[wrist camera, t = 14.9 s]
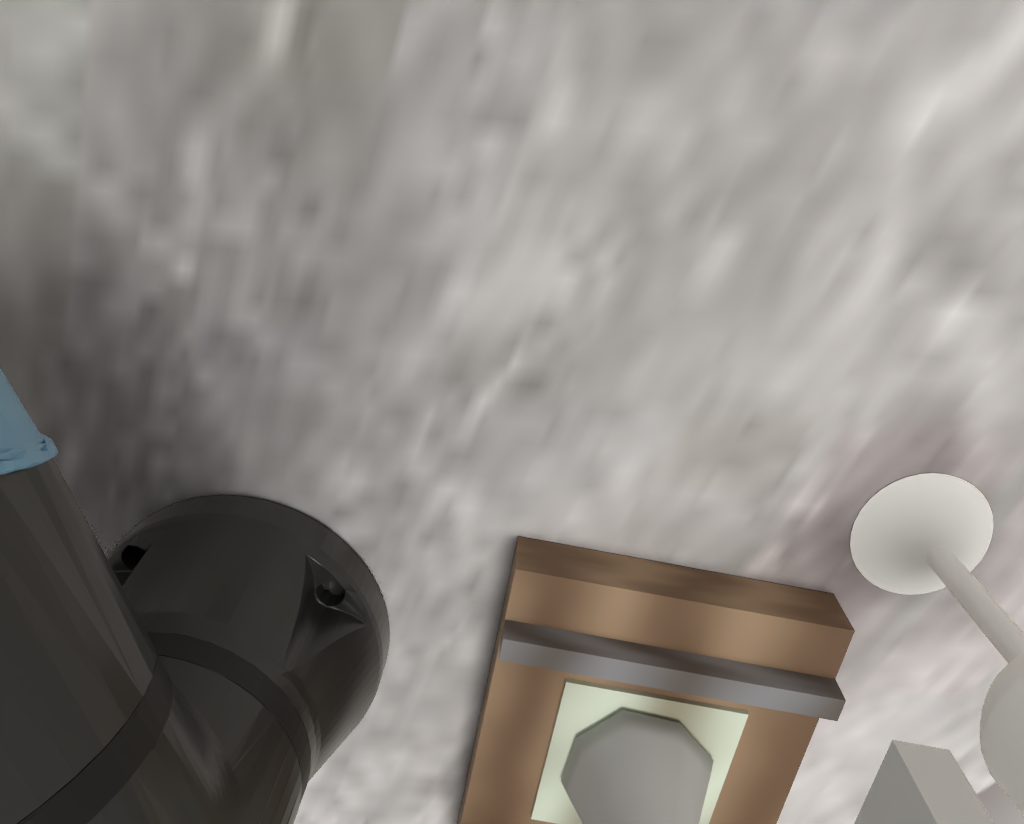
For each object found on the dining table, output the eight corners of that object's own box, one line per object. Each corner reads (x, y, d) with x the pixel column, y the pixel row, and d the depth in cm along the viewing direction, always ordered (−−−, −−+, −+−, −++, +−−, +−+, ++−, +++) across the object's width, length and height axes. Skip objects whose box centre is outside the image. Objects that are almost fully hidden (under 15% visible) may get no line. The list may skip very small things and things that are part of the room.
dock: (455, 830, 47) (446, 902, 43) (518, 536, 40) (514, 587, 36) (723, 877, 48) (740, 953, 43) (833, 594, 40) (866, 651, 36)
